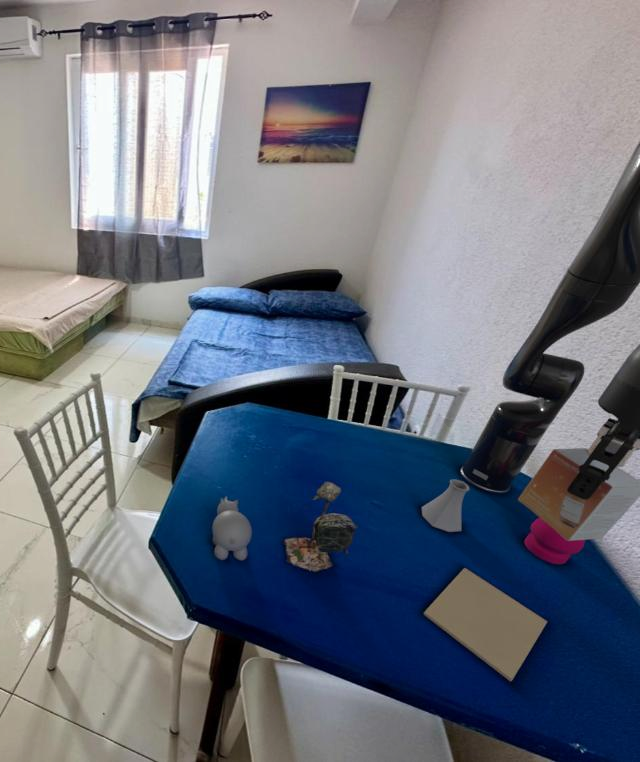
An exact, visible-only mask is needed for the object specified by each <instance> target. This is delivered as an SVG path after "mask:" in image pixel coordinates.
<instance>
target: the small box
mask: <svg viewBox="0 0 640 762" xmlns="http://www.w3.org/2000/svg"><path fill="white" fill-rule="evenodd" d="M588 449H589V448H587V447H575V448H573V447H572V448H554V449H552V450H551V452H550V453H549V455H548V456H547V457H546V458H545V460H544V462H543V463H542V465H541V466H540V467H539V468H538V470H537V472H536V473H535V474H534V476H533V477H532V478H531V480H530V481H529V482H528V484H527V486H526V487H525V488H524V489H523V491H522V493H521V494H520V496H519V497H518V498H517V500H518V502H519V503H521V504H522V505H523V506H525V507H526V508H527V509H529V510H530V511H531V512H533V513H534V514H535V515H536V516H537V517H538V518H541V519H542V520H543V521H545V522H546V523H547V524H548V525H549V526H551V527H552V528H553V529H554V530H555V531H557V532H558V533H559V534H560V535H561V536H562V537H563V538H565V539H566V540H567V541H571V540H585V541H586V540H601V539H604V537H605V536H606V535H607V534H608V533H609V531H610V530H612V529H613V527H614V526H615V525H616V524H617V523H618V521H620V519H622V517H623V516H624V515H625V514H626V513H627V512H628V511H629V509H631V507H632V506H633V505H634V503H636V502H637V500H638V499H639V498H640V479H638V478H637V477H635V476H633V475H632V474H630V473H628V472H626V471H625V470H623V469H621V467H616V468H615V469H614V470H613V472H612V473H611V474H610V475H609V476H610V478H609V479H608V480H605V482H602V483H601V484H600V486H599V487H598V488H597V489H596V491H595V492H594V493H593V494H592V496H591V497H590V498H589V499H588V500H584V499H581V498H579V497H577V496H575V495H573V494H571V493H569V492H568V491H567V488H568V487H569V486H570V484H571V483H572V482H573V480H574V479H575V478H576V476H577V475H578V473H579V470H580V469H579V467H580V466H581V465H582V464H584V463H585V461H586V460H587V459H588V457H589V455H588V454H587V451H588ZM590 465H592V466H595V467H597V468H600V469H602V470H605V471H606V470H607V469H608V467H609V466H608V465H606V464H604V463H601V462H599V461H596V460H593V461H592V462H591V464H590Z"/></svg>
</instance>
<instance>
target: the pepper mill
mask: <svg viewBox="0 0 640 762" xmlns="http://www.w3.org/2000/svg"><path fill="white" fill-rule="evenodd" d="M523 543H524V545H525V547H526V548H527V550H528V551H529V552H530V553H532V554H533V555H534V556H536V557H537V558H539V559H540V560H543V561H545V562H547V563H550V564H554V565H563V564H565V563H567V561H568V560H569V559H570V558H571V555H573V554H577V553H579V552H581V550H582V549H583V548H584V546H585V543H586V540H571V541H567V540H566V539H565V538H563V537H562V536H561V535H560V534H559V533H558V532H557V531H555V530H554V529H553V528H552V527H551V526H549V525H548V524H547V523H546V522H545V521H543V520H542V519H541V518H540V517H538V518H537V519H535V520H534V521H533V522H532V523H531V525H530V533H528V535H527V536H526V538H525V539H524V541H523Z"/></svg>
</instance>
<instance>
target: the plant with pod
mask: <svg viewBox="0 0 640 762" xmlns="http://www.w3.org/2000/svg"><path fill="white" fill-rule="evenodd" d="M341 492H342V489H341V487H339V486H337V485H336V484H335V483H334V482H331V481H324V482H323V484H322V485H321V486H320V487H319V488H318V489H317V490H316V494H317V495H315V496H314V497H313V498H312V500H313V501H315V500H317V499H323V500H325V504H324V508H323V511H322V513H321V516H320V515H319V517H317V518H316V519H315V521H314V522H313V525H312V526H313V528H312V530H313V531H312V532H311V535H312V536H311V538H309V537H300V536H299V537H296V536H294V537H293V538H292V537H290V538H285V540H284V541H283V544H284V545H285V547H284V548H285V550H286V551H285V554H286V562H287V563H289V564H290V565H292V566H295V567H298V568H301V569H305V570H309V571H310V572H311V571H312V573H315V572H319V571H322V570H328V569H329V568H332V567H334V564H333V562H332V561H331V558H330V557H329V555H328V554H329V553H340V552H342V551H343V552H344V553H345V554H349V553H348V552H349V551H348V550H347V549H348V548H349V547H350V546H351V544H353V539H354V534H355V533H356V528H358V525H356V524H355V523H354V521H353V520H352V518H351V517H350V516H348V515H345V514H340V513H335V512H332V513H327V510H328V507H329V505H330V503H332V502H334V501H336V500H337V499H338V497H339V496H340V494H341Z"/></svg>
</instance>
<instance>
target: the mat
mask: <svg viewBox="0 0 640 762" xmlns="http://www.w3.org/2000/svg"><path fill="white" fill-rule="evenodd" d="M423 616H424V617H426V618H427V619H429V620H430V621H431V622H433V623H434V624H435V625H437V627H439V628H440V629H441V630H443V631H444V632H445V633H447V634H448V635H450V636H451V637H452V638H453V639H454V640H456V641H457V642H458V643H460V644H461V645H462V646H464V647H465V648H466V649H467V650H469V651H470V652H471V653H473V654H474V655H475V656H477V657H478V658H479V659H481V661H483V662H484V663H486V664H487V665H488V666H489V667H491V668H492V669H494V670H495V671H496V672H497V673H499V674H500V675H501V676H502V677H504V678H505V679H506V680H508V681H509V682H512V681H513V680H514V679H515V677H516V675H517V673H518V671H519V670H520V669H521V667H522V665H523V664H524V662H525V660H526V658H527V656H528V655H529V653H530V652H531V650H532V648H533V647H534V645H535V643H536V642H537V640H538V638H539V637H540V635H541V633H542V632H543V630H544V628H545V627H546V625H547V624H548V621H547V620H546V619H544V618H543V617H541V616H540V615H539V614H537V613H536V612H533V611H532V610H531V609H529V608H527V607H526V606H524V605H523V604H521V603H520V602H519V601H516V600H515V599H514V598H512V597H511V596H509V595H507V594H506V593H504V592H503V591H502V590H500V589H498V588H497V587H495V586H494V585H492V584H490V583H489V582H488V581H486V580H485V579H483V578H481V577H480V576H478V575H477V574H475V573H473V572H472V571H470V570H469V569H467V568H466V567H464V568H463V569H462V570H461V571H460V572H459V573H458V574H457V575H456V576H455V577H454V579H453V580H452V581H451V582H450V583H449V584H448V585H447V586H446V588H445V589H444V590H443V591H442V592H441V593H440V594H439V595H438V596H437V597H436V599H434V600H433V602H432V603H431V604H430V605H429V606H428V607H427V608H426V610H425V611H423Z"/></svg>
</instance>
